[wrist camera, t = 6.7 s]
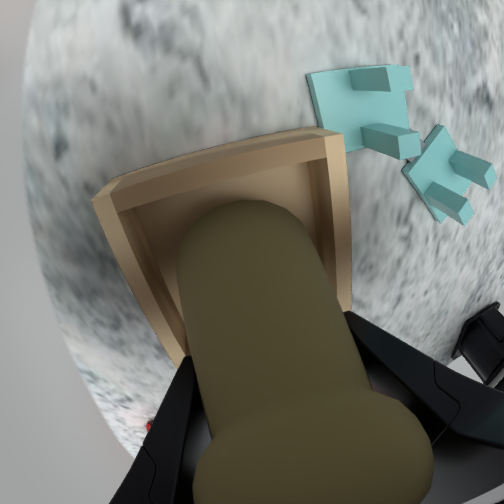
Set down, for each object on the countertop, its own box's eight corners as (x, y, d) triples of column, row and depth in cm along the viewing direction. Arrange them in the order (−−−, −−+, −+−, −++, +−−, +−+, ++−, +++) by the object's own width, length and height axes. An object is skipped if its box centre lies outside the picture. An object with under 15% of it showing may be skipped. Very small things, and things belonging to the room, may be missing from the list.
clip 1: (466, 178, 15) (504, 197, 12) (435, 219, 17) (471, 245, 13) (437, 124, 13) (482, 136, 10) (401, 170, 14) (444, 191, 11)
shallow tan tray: (330, 288, 17) (351, 320, 15) (177, 330, 17) (176, 368, 14) (313, 126, 12) (343, 133, 10) (111, 179, 12) (91, 200, 9)
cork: (326, 288, 14) (444, 495, 5) (213, 336, 14) (252, 562, 5) (288, 174, 11) (531, 446, 1) (148, 239, 11) (106, 567, 2)
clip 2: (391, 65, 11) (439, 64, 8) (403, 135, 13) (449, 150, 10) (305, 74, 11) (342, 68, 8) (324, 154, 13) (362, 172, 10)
